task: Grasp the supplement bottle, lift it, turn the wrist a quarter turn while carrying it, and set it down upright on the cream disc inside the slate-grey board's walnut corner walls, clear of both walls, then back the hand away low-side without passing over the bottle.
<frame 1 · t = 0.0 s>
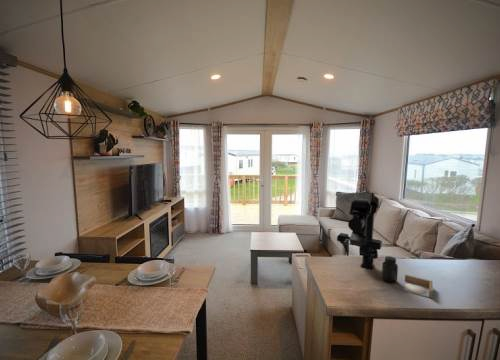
hand: (357, 258, 115), 15 cm above the table, fingers open, 9 cm apart
corner arena: (417, 289, 115), on the table
supplement bottle: (389, 281, 123), on the table
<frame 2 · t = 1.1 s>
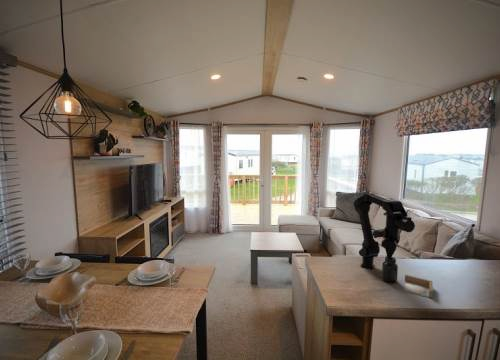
hand: (390, 256, 122), 13 cm above the table, fingers open, 9 cm apart
nothing on the table moved.
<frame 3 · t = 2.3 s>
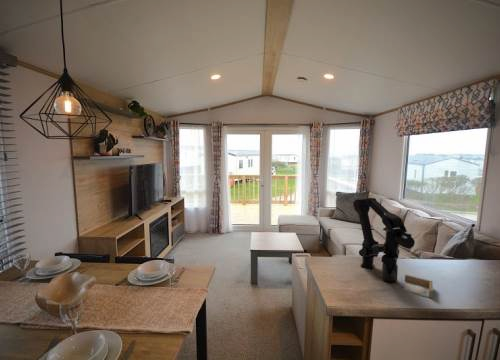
hand: (389, 271, 123), 5 cm above the table, fingers closed on supplement bottle, 7 cm apart
supplement bottle: (389, 281, 123), on the table, touching gripper
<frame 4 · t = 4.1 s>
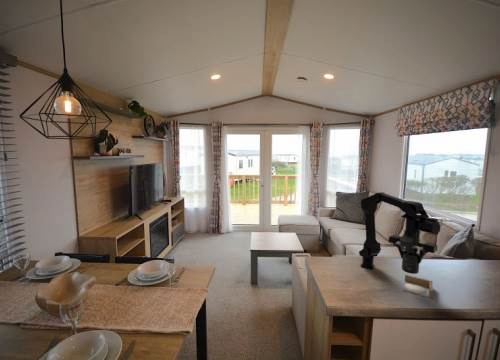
hand: (410, 260, 115), 13 cm above the table, fingers closed on supplement bottle, 7 cm apart
supplement bottle: (409, 271, 116), point 8 cm above the table, touching gripper
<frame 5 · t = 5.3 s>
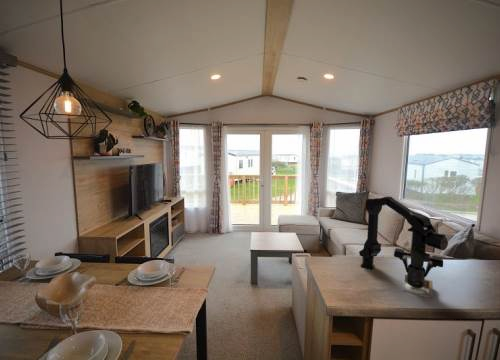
hand: (415, 274, 114), 7 cm above the table, fingers closed on supplement bottle, 7 cm apart
supplement bottle: (414, 285, 115), point 2 cm above the table, touching gripper
when the fingers open (6 cm above the table, at t = 6.1 s): supplement bottle stays where it is, resting on corner arena.
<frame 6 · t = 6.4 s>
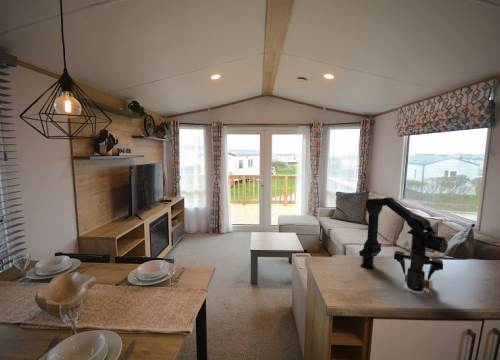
hand: (416, 277, 114), 6 cm above the table, fingers open, 9 cm apart
supplement bottle: (414, 288, 115), point 1 cm above the table, touching corner arena
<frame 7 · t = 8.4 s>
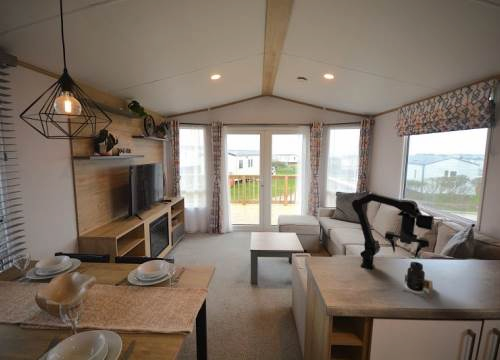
hand: (404, 254, 125), 13 cm above the table, fingers open, 9 cm apart
nothing on the table moved.
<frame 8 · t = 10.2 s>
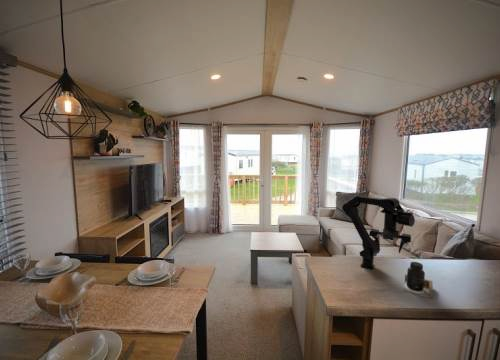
hand: (388, 251, 128), 13 cm above the table, fingers open, 9 cm apart
nothing on the table moved.
at the end: supplement bottle 0.1 cm from the target spot, point 0.5 cm above the table; supplement bottle tilted 0°; the gripper is holding nothing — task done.
